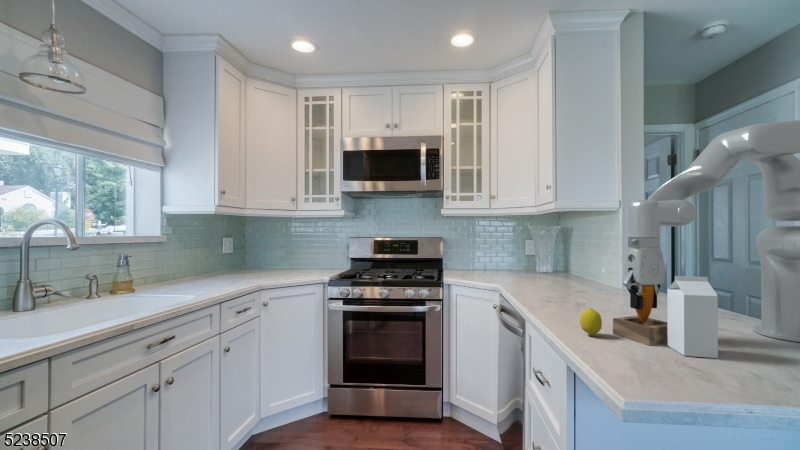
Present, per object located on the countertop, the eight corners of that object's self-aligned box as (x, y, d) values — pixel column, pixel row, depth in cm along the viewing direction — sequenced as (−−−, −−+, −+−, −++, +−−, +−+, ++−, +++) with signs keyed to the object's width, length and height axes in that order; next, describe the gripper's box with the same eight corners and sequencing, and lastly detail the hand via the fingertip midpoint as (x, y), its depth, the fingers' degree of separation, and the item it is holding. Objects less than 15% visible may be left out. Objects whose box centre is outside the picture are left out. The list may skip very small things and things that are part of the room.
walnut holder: (639, 330, 103) (639, 315, 103) (677, 341, 93) (677, 325, 93) (612, 333, 100) (612, 318, 100) (649, 345, 90) (649, 328, 90)
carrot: (657, 326, 94) (657, 271, 94) (636, 324, 95) (636, 270, 95) (650, 321, 98) (650, 269, 98) (630, 319, 100) (630, 268, 100)
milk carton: (718, 358, 81) (717, 279, 81) (684, 356, 82) (683, 278, 83) (698, 348, 88) (698, 274, 88) (667, 346, 89) (667, 274, 90)
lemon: (602, 334, 99) (602, 307, 99) (601, 340, 94) (601, 311, 94) (580, 331, 102) (580, 304, 102) (579, 336, 97) (578, 308, 97)
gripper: (634, 245, 90) (634, 313, 90) (678, 244, 96) (678, 309, 96) (609, 243, 98) (609, 307, 98) (651, 243, 103) (651, 303, 103)
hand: (643, 307), depth 97 cm, fingers closed on carrot, 4 cm apart
